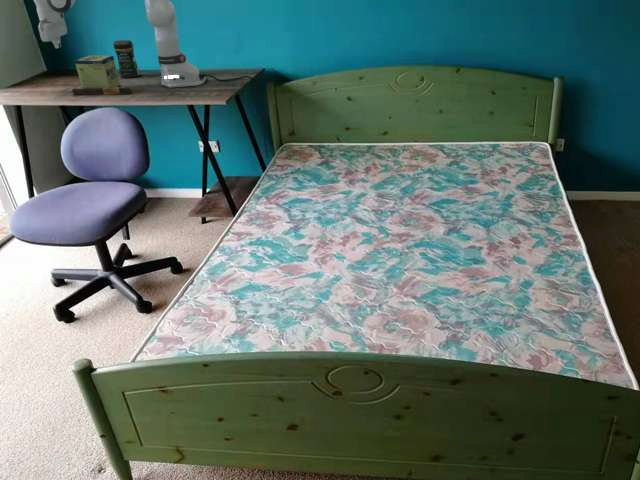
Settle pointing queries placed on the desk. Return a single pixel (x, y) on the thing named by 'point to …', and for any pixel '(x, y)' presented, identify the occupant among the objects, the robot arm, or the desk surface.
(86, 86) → the protein box
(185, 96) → the desk surface
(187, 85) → the robot arm
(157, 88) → the desk surface
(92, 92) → the guide rail
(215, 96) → the desk surface
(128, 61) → the coffee jar
